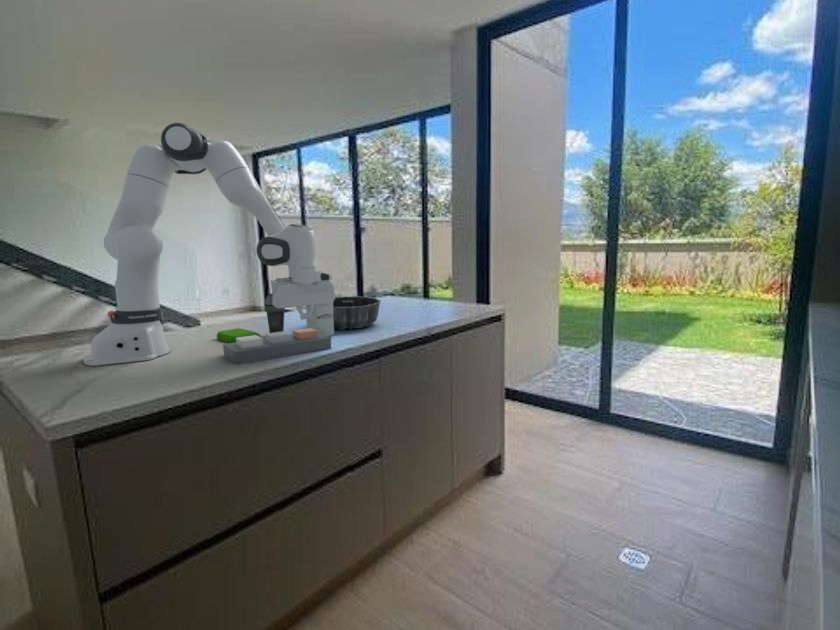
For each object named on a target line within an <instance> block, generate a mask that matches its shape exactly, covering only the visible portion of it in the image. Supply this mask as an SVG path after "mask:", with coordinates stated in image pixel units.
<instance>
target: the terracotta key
mask: <svg viewBox="0 0 840 630" xmlns="http://www.w3.org/2000/svg"><path fill="white" fill-rule="evenodd" d="M292 335H293V337H294V338H296V339H299V340H304V339H311V338H318V331H317V330H314V329H312V328H307V327H306V328H299V329H293V330H292Z"/></svg>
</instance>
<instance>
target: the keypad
mask: <svg viewBox="0 0 840 630" xmlns="http://www.w3.org/2000/svg"><path fill="white" fill-rule="evenodd" d="M263 338H264V337H263ZM291 339H292V341H291V342H284V343H277V344H271V343H269V342H267V341H266V337H265V338H264V339H263V346H257V347H251V348H244V349H241V348H240V347H238V346H236V342H235V343H228V342H227V343H224V344H223V343H222V345H223V346H222V350H223V356H224V357H225V358H227V359H228V360H230V361H231V362H232V363H234V364H235V365H238V364H243V363H244V362H245V363H250V362H256V361H261V360H262V361H263V360H268V358H269V359H273V358H274V359H275V358H280V357H281V358H282V357H285V356H286V357H287V356H292V355H293V356H294V355H298V354H304V353H309V352H315V351H317V352H318V351H323V350H327V349H328V350H329V349H332V337H330V336H325V335H323V334H320V333H318V338H311V339H304V340H299V339H296V338H294V337H293V334H291ZM245 363H244V364H245Z"/></svg>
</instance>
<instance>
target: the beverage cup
mask: <svg viewBox="0 0 840 630" xmlns="http://www.w3.org/2000/svg"><path fill="white" fill-rule="evenodd" d="M273 281H274V280H271V281H270V283H271V286H272V283H273ZM271 292H272V293H269V294H268V295H267V296H266V297H265V300H264V308H265V311H266V319H267V324H268V329H269V330H268V331H269V333H276V332H283V331H284V330H285V310H286V308H280V309H279V308H275V307H274V306H273V291H272V290H271ZM284 332H285V331H284Z"/></svg>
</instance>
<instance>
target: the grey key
mask: <svg viewBox="0 0 840 630" xmlns="http://www.w3.org/2000/svg"><path fill="white" fill-rule="evenodd" d="M291 335H292V334H290V333H289V332H286V331H283V332H276V333H270V332H269V333H265V336H264V337H265V338H266V341H267V342H269V343H271V344H277V343H284V342H291V341H292V339H291Z"/></svg>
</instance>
